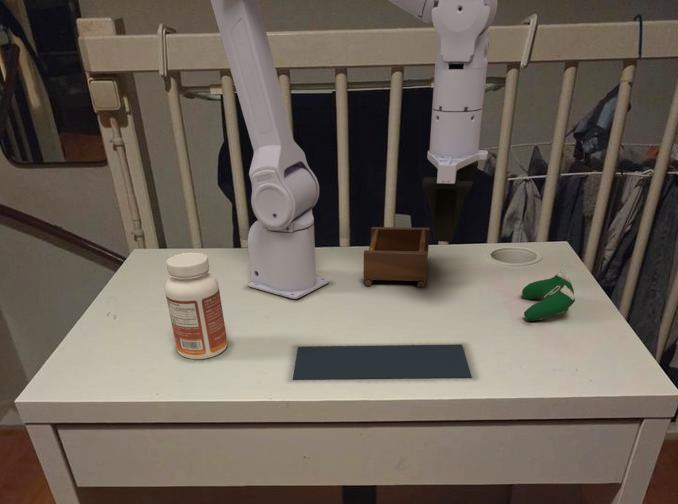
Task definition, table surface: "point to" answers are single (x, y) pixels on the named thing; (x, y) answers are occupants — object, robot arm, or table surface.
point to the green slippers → (549, 297)
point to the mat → (381, 362)
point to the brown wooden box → (397, 254)
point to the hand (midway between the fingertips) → (446, 231)
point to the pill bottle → (195, 306)
